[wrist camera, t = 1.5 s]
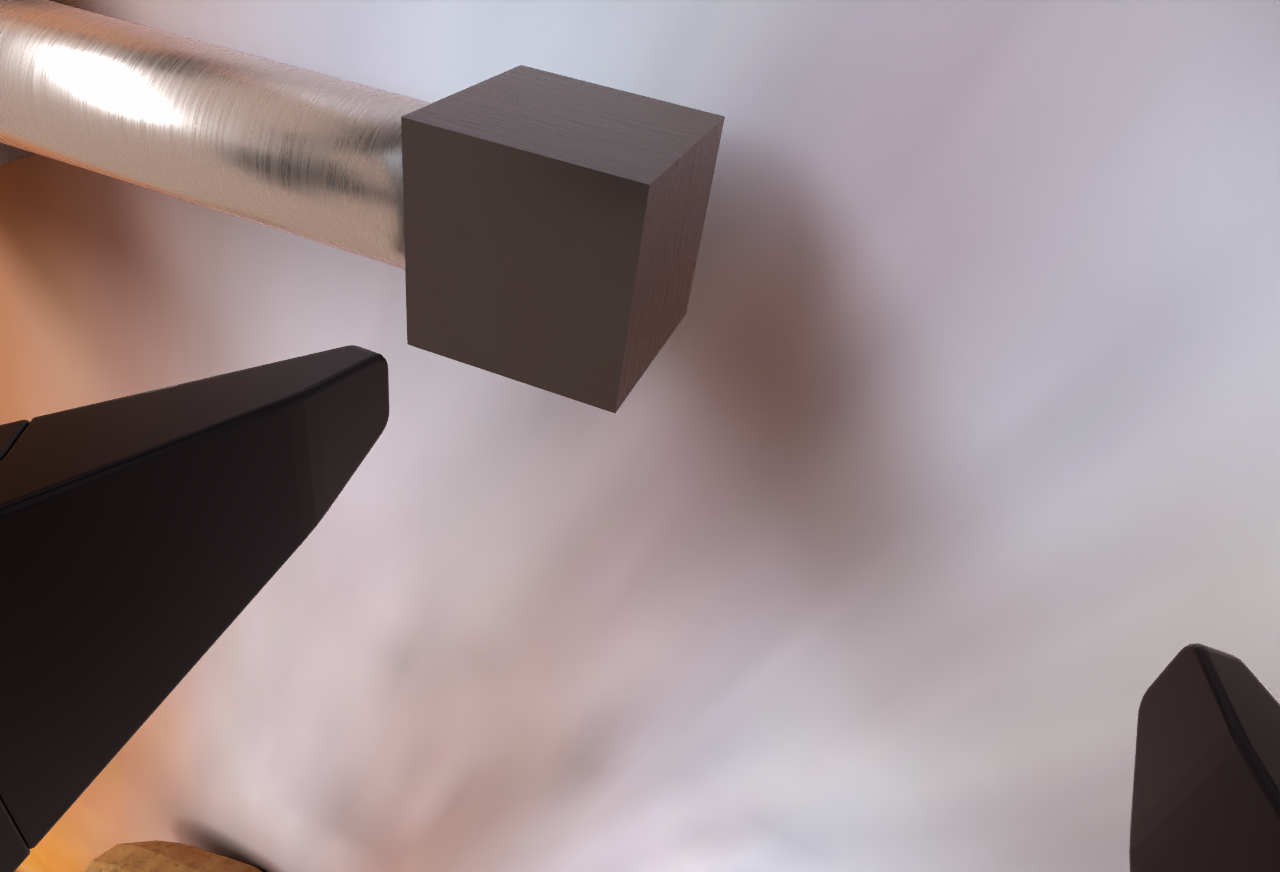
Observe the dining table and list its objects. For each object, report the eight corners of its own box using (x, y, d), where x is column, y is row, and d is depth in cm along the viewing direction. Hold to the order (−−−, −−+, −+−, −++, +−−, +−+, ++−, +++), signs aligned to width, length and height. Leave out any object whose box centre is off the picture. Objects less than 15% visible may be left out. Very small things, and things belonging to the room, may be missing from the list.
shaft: (724, 116, 15) (649, 185, 12) (686, 313, 17) (615, 412, 14) (-210, -120, 19) (-442, -115, 16) (-138, 64, 22) (-329, 98, 19)
